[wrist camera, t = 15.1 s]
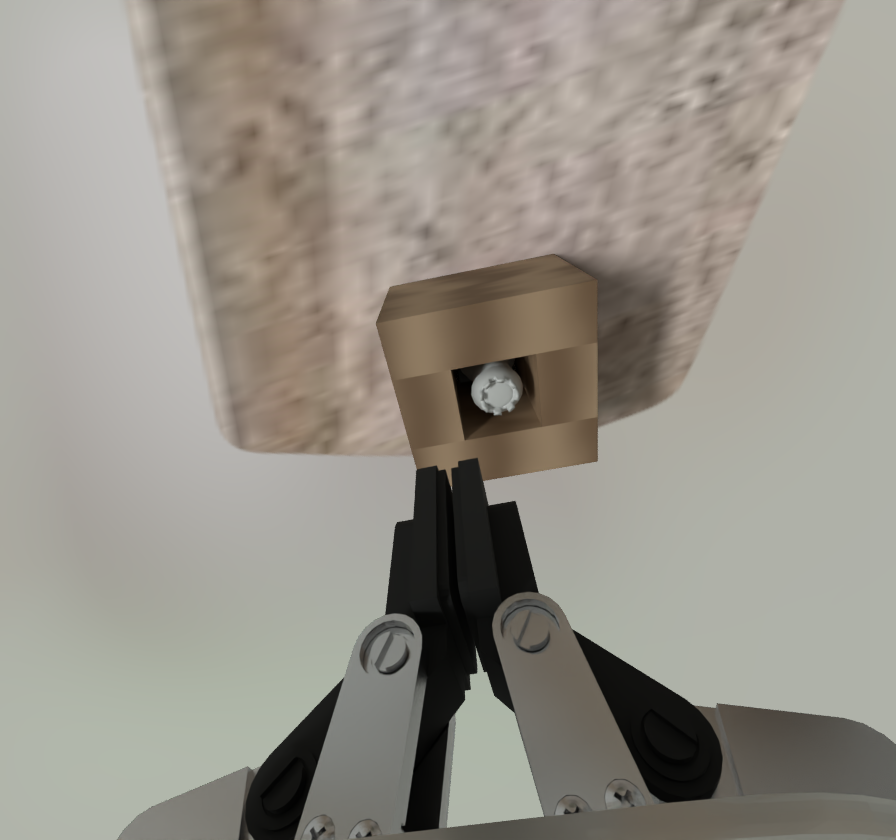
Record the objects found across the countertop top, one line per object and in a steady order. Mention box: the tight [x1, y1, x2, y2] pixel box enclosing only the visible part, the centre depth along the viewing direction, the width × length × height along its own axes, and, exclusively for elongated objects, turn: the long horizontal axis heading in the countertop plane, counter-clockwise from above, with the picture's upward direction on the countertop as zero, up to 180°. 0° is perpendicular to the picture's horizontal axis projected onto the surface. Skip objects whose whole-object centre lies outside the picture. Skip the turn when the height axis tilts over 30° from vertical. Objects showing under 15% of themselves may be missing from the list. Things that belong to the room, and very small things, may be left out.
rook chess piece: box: [460, 358, 523, 415], centre depth 28 cm, size 4×4×8 cm
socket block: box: [376, 254, 598, 486], centre depth 29 cm, size 12×12×9 cm
